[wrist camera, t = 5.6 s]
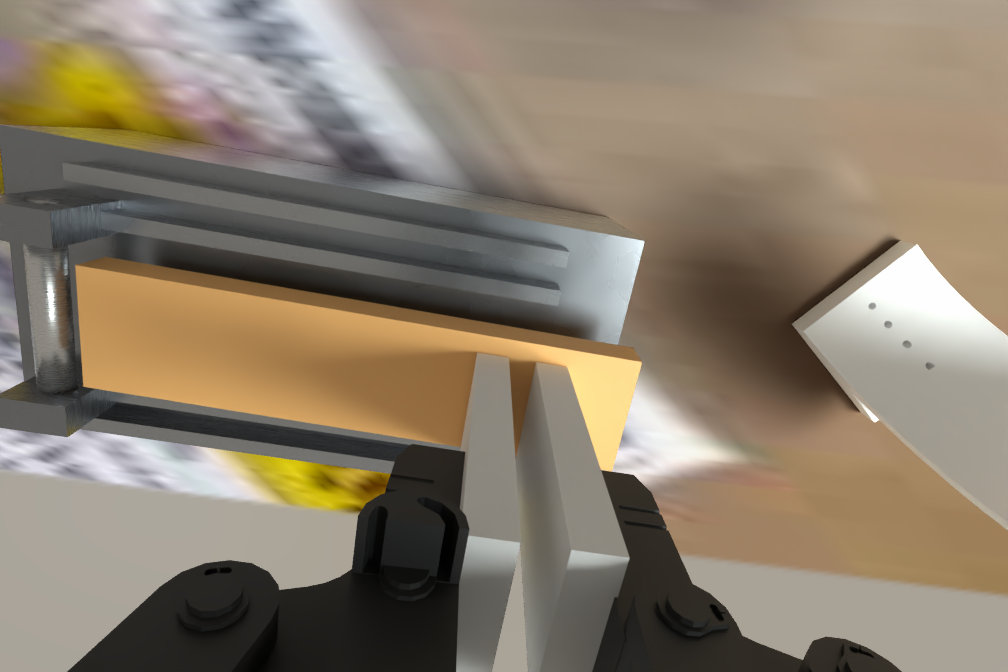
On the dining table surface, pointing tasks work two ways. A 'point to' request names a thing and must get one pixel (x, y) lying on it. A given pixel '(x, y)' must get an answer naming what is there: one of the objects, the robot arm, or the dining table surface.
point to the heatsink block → (275, 267)
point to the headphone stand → (921, 369)
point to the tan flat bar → (323, 355)
